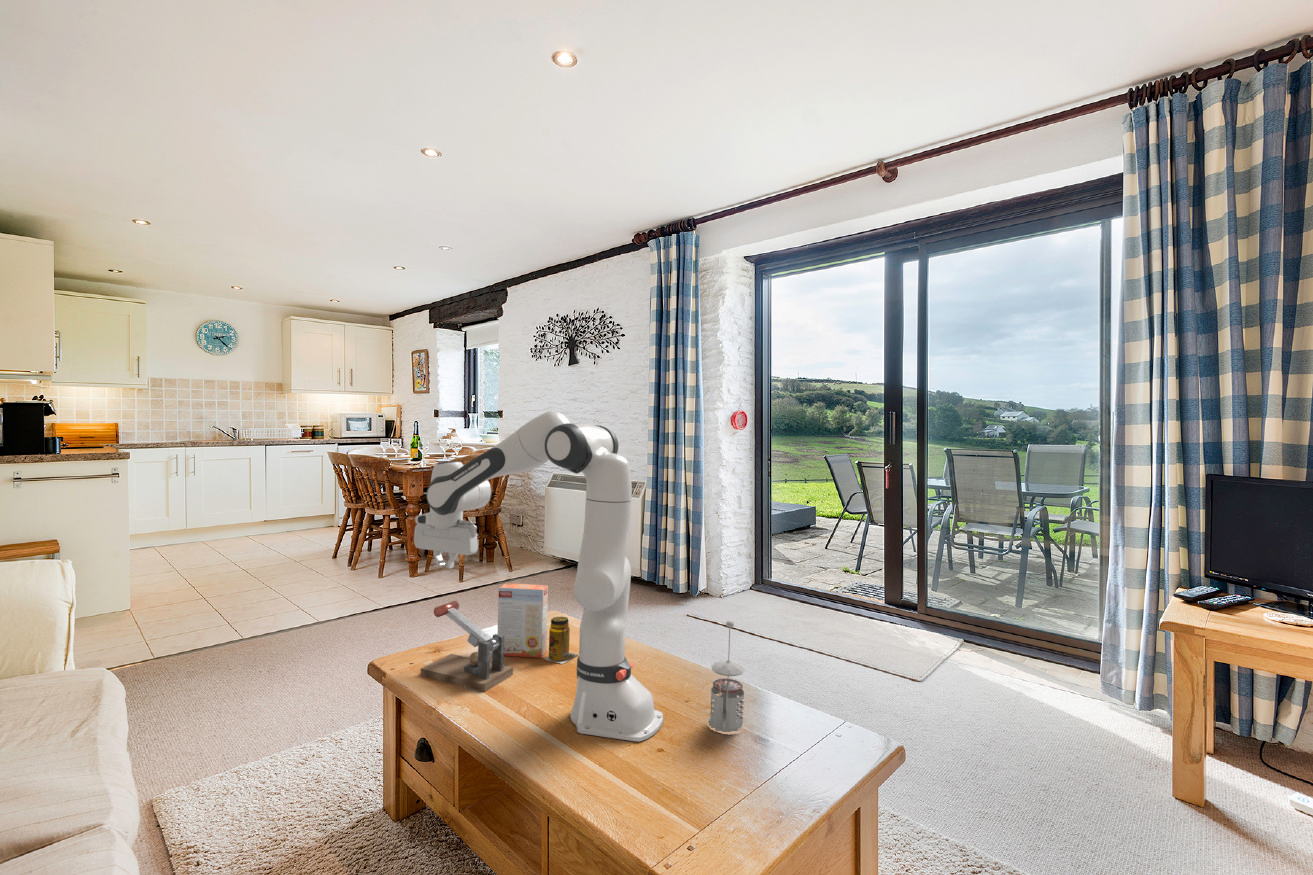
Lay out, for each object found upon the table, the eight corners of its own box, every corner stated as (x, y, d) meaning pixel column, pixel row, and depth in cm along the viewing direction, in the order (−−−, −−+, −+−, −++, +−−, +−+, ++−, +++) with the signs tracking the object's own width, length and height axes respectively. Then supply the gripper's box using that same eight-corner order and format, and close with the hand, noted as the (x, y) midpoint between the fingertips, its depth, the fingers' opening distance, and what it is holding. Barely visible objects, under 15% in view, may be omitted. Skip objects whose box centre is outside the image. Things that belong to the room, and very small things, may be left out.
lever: (499, 651, 165) (505, 638, 164) (483, 660, 159) (489, 647, 158) (448, 610, 172) (453, 598, 172) (430, 617, 166) (435, 604, 165)
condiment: (542, 659, 178) (543, 619, 178) (559, 650, 186) (560, 612, 186) (562, 664, 175) (563, 624, 175) (578, 655, 182) (580, 616, 182)
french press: (749, 718, 146) (753, 617, 145) (743, 742, 135) (747, 632, 134) (709, 712, 148) (713, 612, 148) (700, 734, 137) (704, 627, 137)
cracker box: (547, 651, 184) (549, 584, 184) (541, 658, 178) (543, 589, 178) (503, 648, 186) (505, 581, 186) (496, 655, 180) (498, 586, 180)
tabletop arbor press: (512, 674, 167) (514, 633, 166) (484, 691, 156) (486, 648, 155) (451, 660, 175) (452, 621, 175) (420, 675, 164) (421, 634, 164)
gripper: (483, 520, 167) (482, 569, 167) (427, 513, 175) (426, 560, 175) (468, 523, 161) (466, 574, 161) (410, 516, 169) (409, 565, 169)
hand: (445, 567), depth 168 cm, fingers closed
